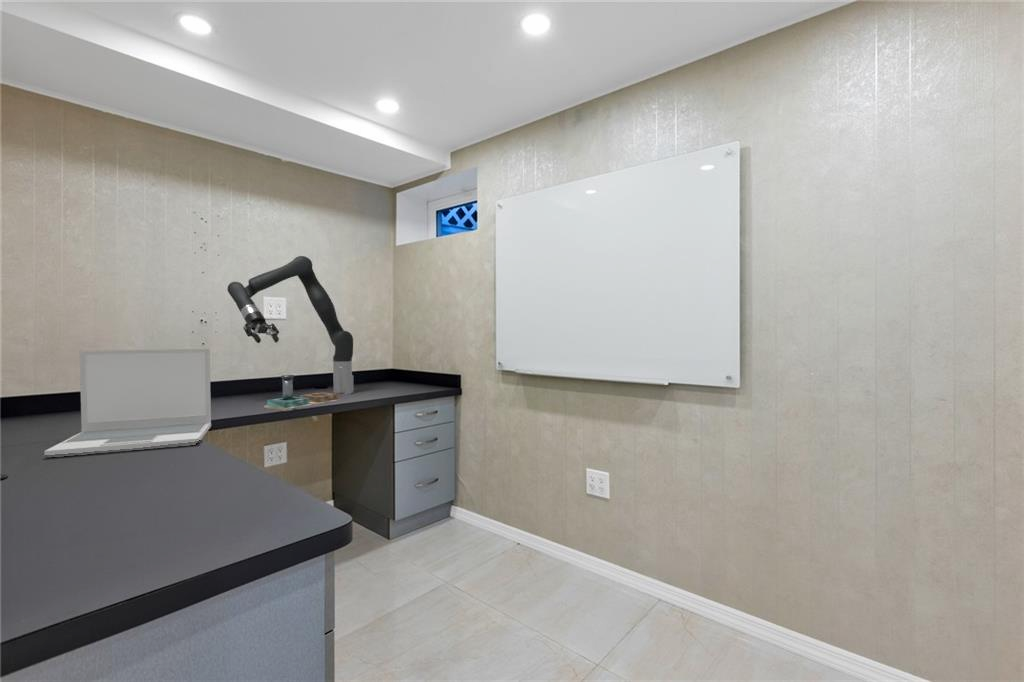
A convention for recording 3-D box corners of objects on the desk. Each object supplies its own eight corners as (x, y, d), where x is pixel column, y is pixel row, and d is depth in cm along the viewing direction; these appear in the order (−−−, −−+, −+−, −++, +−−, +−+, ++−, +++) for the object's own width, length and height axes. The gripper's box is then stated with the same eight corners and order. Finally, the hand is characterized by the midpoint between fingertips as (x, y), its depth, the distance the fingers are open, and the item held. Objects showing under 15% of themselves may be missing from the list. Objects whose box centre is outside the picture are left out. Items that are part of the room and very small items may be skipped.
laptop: (44, 460, 128) (41, 355, 127) (83, 439, 152) (80, 350, 151) (198, 447, 143) (196, 352, 142) (211, 429, 167) (210, 348, 166)
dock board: (320, 399, 233) (320, 391, 233) (341, 401, 226) (341, 394, 226) (264, 407, 208) (264, 399, 208) (286, 411, 201) (285, 402, 200)
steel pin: (289, 403, 213) (288, 374, 213) (297, 404, 211) (296, 375, 210) (279, 405, 209) (278, 375, 208) (286, 406, 207) (286, 376, 206)
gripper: (241, 310, 213) (256, 336, 208) (270, 311, 226) (286, 335, 221) (234, 322, 216) (249, 347, 211) (264, 322, 229) (279, 346, 223)
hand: (268, 341), depth 216 cm, fingers open, 8 cm apart
